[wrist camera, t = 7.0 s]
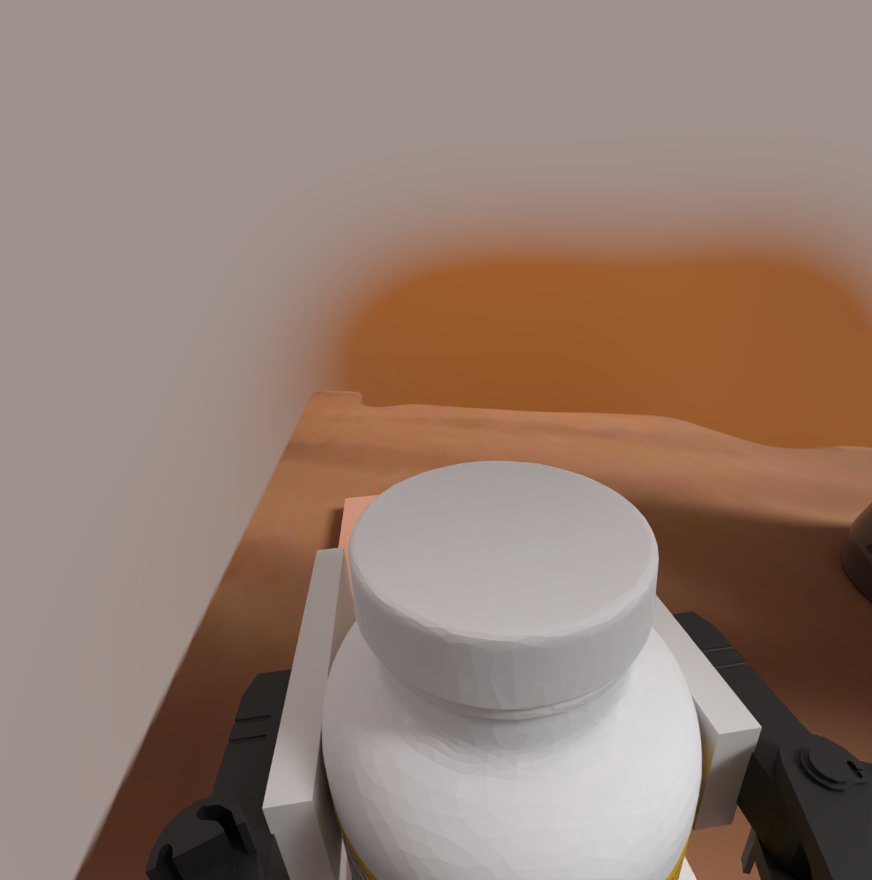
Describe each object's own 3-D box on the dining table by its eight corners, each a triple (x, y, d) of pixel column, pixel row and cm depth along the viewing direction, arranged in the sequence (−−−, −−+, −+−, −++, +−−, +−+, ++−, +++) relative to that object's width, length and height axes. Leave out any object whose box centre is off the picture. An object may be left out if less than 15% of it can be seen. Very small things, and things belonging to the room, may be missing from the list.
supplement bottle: (568, 772, 16) (594, 423, 11) (706, 1099, 10) (920, 646, 5) (372, 820, 15) (301, 461, 10) (390, 1215, 9) (226, 803, 4)
